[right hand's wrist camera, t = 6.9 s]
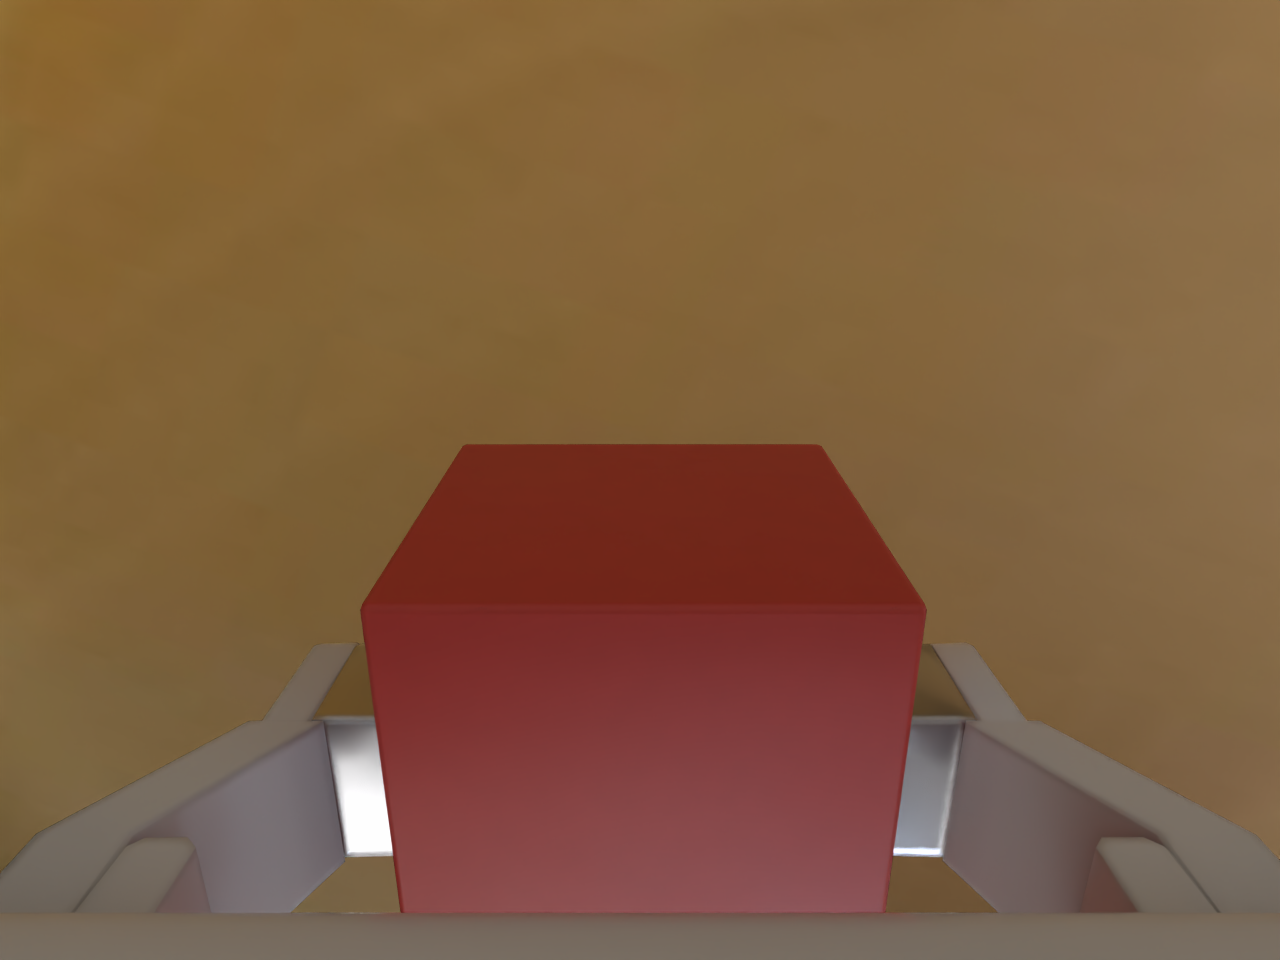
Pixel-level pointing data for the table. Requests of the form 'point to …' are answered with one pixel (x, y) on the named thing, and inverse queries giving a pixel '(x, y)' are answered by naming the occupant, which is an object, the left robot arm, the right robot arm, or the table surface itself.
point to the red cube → (643, 684)
